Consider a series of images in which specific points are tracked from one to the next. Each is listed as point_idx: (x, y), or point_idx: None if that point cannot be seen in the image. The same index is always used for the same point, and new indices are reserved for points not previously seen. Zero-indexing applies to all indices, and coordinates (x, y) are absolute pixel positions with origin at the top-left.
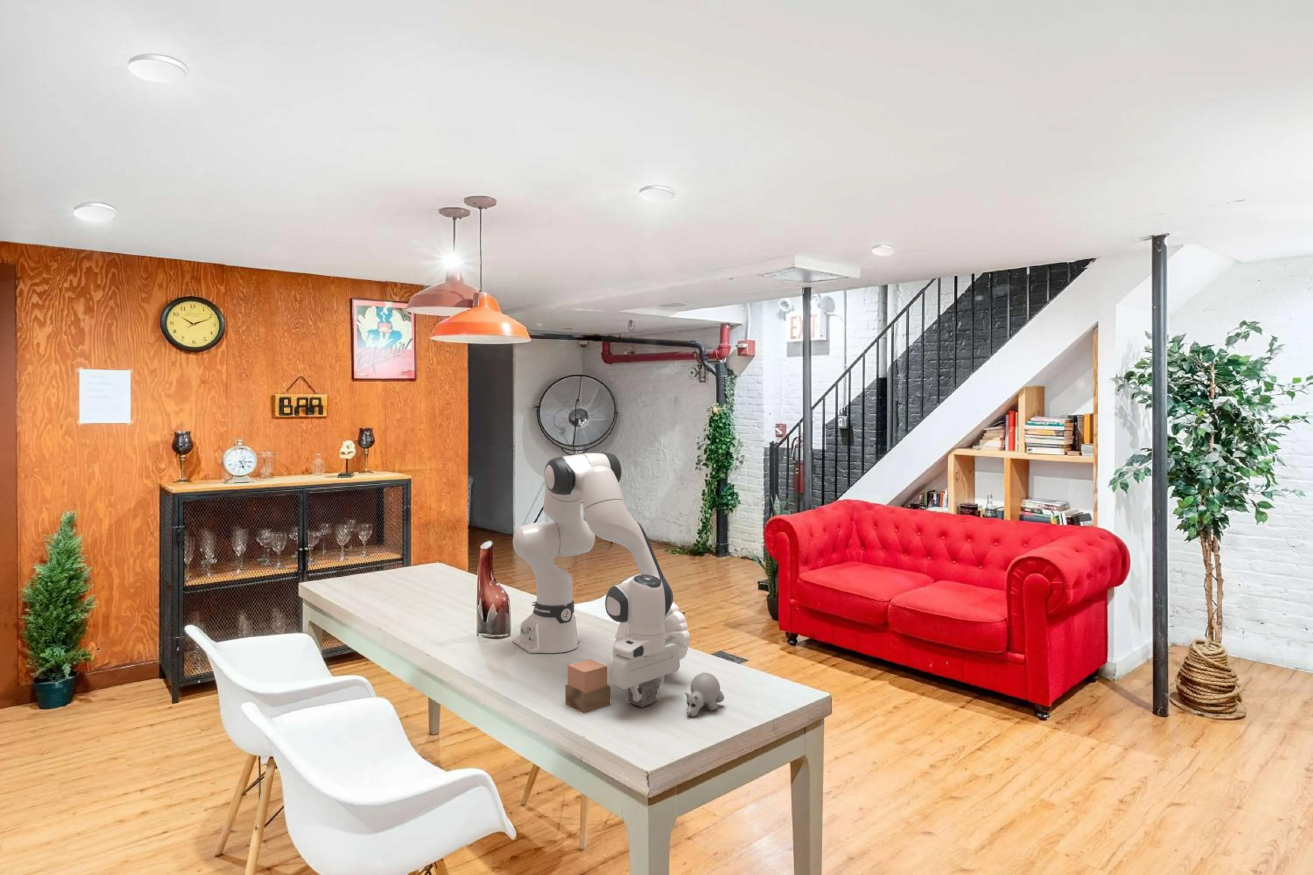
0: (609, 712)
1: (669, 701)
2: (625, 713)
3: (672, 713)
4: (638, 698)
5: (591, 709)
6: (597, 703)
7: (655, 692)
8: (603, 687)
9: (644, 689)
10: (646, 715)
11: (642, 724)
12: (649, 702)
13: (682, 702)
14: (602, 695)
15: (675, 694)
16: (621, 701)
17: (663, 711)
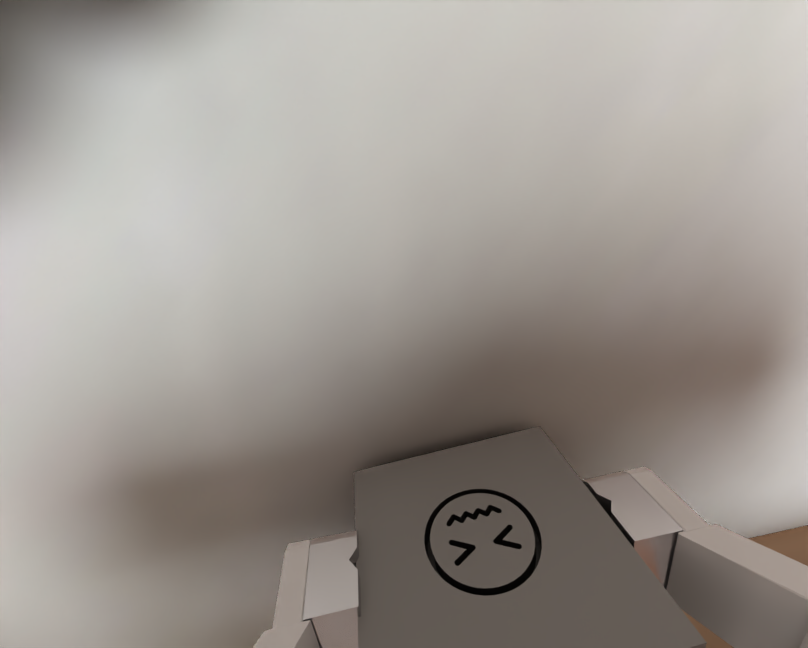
0: (731, 471)
1: (204, 445)
2: (680, 407)
3: (358, 158)
4: (653, 487)
5: (782, 542)
6: None
7: (365, 556)
8: None
9: (614, 597)
10: (601, 281)
11: (795, 109)
12: (446, 462)
13: (72, 363)
14: None
15: (57, 549)
16: None
17: (408, 270)
